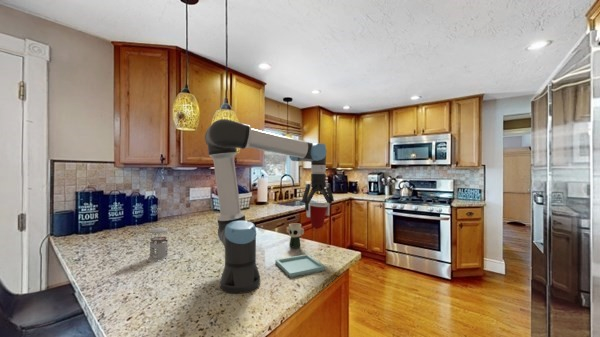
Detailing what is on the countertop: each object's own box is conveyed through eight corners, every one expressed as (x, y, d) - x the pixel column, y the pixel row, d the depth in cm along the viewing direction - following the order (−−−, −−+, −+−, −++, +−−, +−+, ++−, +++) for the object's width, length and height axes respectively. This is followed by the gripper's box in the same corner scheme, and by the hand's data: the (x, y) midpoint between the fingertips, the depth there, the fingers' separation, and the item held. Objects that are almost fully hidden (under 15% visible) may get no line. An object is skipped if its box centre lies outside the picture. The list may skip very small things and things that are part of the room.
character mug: (283, 247, 138) (283, 225, 138) (289, 244, 144) (289, 222, 144) (301, 250, 133) (301, 226, 133) (306, 246, 140) (306, 224, 140)
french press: (152, 263, 115) (152, 210, 115) (142, 257, 122) (142, 207, 122) (173, 257, 123) (173, 207, 123) (163, 252, 130) (163, 205, 130)
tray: (290, 277, 100) (290, 273, 100) (275, 263, 115) (275, 259, 115) (325, 270, 107) (325, 266, 107) (307, 257, 122) (307, 254, 122)
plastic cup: (324, 230, 118) (324, 205, 118) (304, 227, 123) (304, 203, 123) (331, 225, 128) (331, 202, 128) (312, 223, 132) (312, 201, 133)
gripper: (301, 173, 117) (301, 219, 117) (341, 173, 127) (340, 215, 127) (295, 173, 124) (294, 216, 123) (332, 173, 134) (332, 213, 134)
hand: (317, 216), depth 125 cm, fingers closed on plastic cup, 11 cm apart
